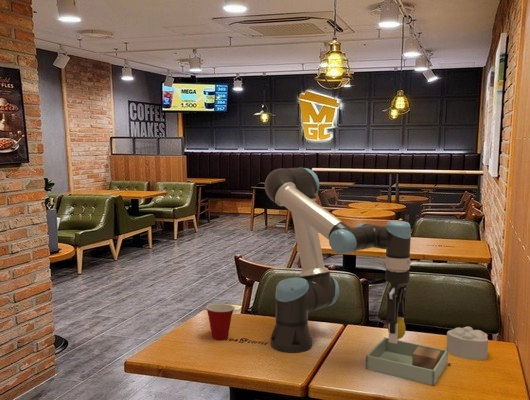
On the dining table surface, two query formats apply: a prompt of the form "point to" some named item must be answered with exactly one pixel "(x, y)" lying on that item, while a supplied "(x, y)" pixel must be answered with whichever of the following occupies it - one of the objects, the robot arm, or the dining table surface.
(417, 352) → the walnut block
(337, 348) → the dining table surface
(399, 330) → the lemon
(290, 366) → the dining table surface
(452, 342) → the lumpy-topped squat cylinder
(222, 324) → the plastic cup
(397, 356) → the box
